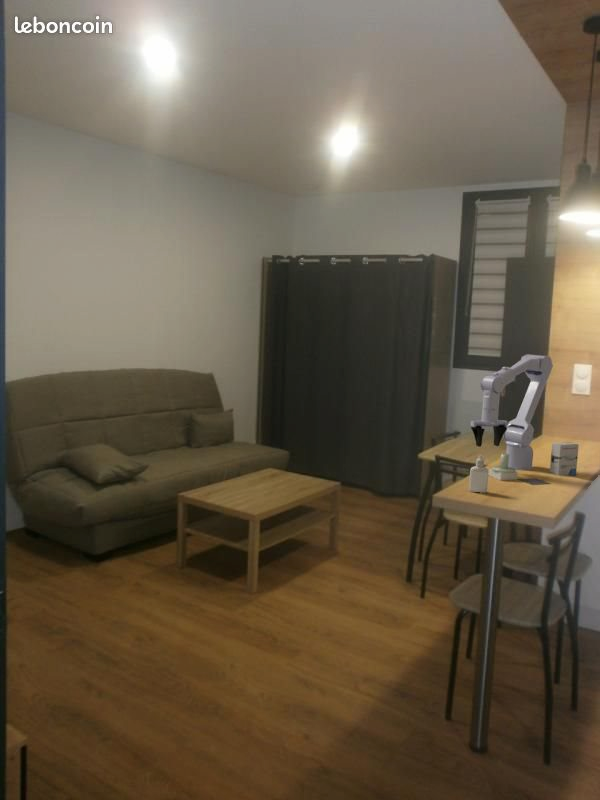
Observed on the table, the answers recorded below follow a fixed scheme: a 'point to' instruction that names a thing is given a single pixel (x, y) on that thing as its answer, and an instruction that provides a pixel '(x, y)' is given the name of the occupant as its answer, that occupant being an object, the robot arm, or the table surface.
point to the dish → (503, 475)
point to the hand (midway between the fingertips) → (487, 445)
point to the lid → (504, 465)
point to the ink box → (564, 458)
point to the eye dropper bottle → (478, 477)
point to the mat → (534, 481)
